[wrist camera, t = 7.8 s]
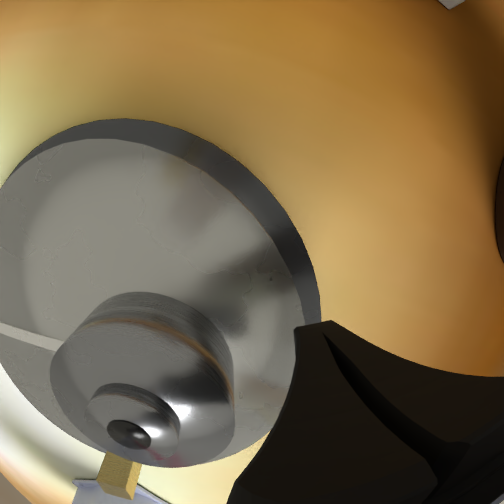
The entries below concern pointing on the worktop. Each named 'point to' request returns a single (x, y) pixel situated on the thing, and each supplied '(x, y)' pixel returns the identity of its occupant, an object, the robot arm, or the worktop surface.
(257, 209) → the turntable base
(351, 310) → the worktop surface
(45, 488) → the worktop surface
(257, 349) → the turntable
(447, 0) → the supplement box
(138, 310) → the cover
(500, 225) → the olive oil
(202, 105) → the worktop surface
